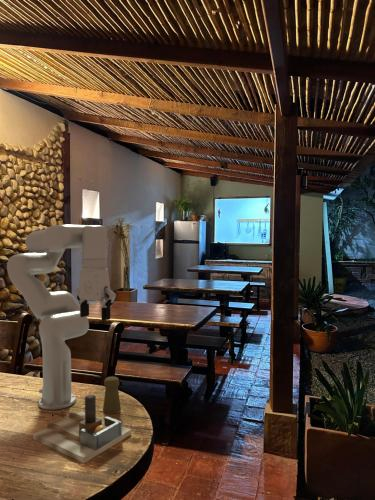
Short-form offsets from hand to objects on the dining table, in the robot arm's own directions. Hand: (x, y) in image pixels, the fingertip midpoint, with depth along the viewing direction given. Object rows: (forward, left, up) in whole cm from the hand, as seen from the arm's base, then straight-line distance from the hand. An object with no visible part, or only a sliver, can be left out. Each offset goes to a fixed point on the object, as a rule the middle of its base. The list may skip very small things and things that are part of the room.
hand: (95, 318), depth 124 cm
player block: (+8, -9, -32) cm, 34 cm away
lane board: (+4, -9, -33) cm, 35 cm away
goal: (+12, -9, -32) cm, 35 cm away
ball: (+12, -9, -30) cm, 33 cm away
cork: (-2, +9, -34) cm, 35 cm away
